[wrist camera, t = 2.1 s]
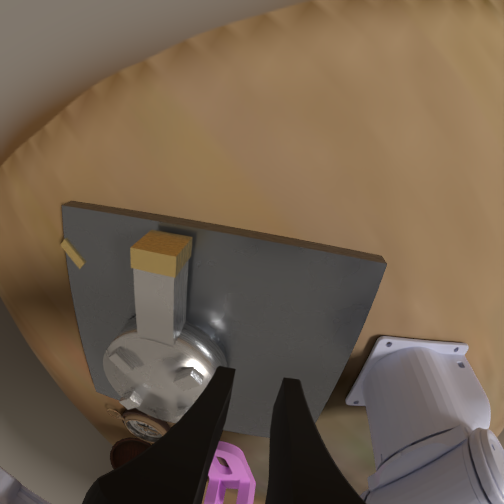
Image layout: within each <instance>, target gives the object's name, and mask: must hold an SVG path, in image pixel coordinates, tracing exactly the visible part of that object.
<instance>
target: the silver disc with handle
mask: <svg viewBox="0 0 504 504" xmlns="http://www.w3.org/2000/svg"><path fill="white" fill-rule="evenodd" d="M191 250H192V237H189V236H184V235H178V234H173V233H167V232H162V231H156V230H151V231H149V232H148V233H147V234H146V235H145V236H143V237H142V238H141V239H140V240H139V241H137V242H136V243H135V244H134V245H133V246H131V247H130V255H131V268H133V273H134V294H135V309H136V317H134V318H132V319H130V320H129V321H128V322H127V323H126V324H125V325H124V327H123V328H122V329H121V331H120V332H119V333H118V335H117V336H116V337H115V339H114V340H113V342H112V343H111V344H110V346H109V347H108V348H107V350H106V352H105V354H104V357H103V367H104V371H105V374H106V377H107V379H108V381H109V382H110V384H111V385H112V387H113V388H114V389H115V391H116V392H117V393H118V394H119V395H120V396H121V399H120V401H119V402H120V403H121V404H122V405H123V406H124V407H126V408H127V409H128V410H129V409H132V408H137V409H138V410H140V411H142V412H144V413H146V414H148V415H150V416H152V417H155V418H157V419H160V420H164V421H168V422H173V423H177V422H178V421H179V420H180V419H181V417H182V416H183V415H184V414H185V413H186V412H187V411H188V410H189V409H190V407H191V406H192V405H193V404H194V402H195V401H196V400H197V399H198V397H199V396H200V395H201V393H202V392H203V391H204V389H205V388H206V386H207V385H208V383H209V381H210V380H211V378H212V376H213V375H214V373H215V371H216V368H217V367H219V366H224V367H228V366H227V361H226V358H225V356H224V354H223V352H222V350H221V349H220V347H219V346H218V344H217V343H216V342H215V341H214V340H213V339H212V338H211V337H210V336H209V335H208V334H207V333H205V332H204V331H203V330H201V329H200V328H198V327H197V326H195V325H194V324H192V323H190V322H188V321H186V299H187V280H188V263H189V258H190V257H191Z"/></svg>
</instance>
